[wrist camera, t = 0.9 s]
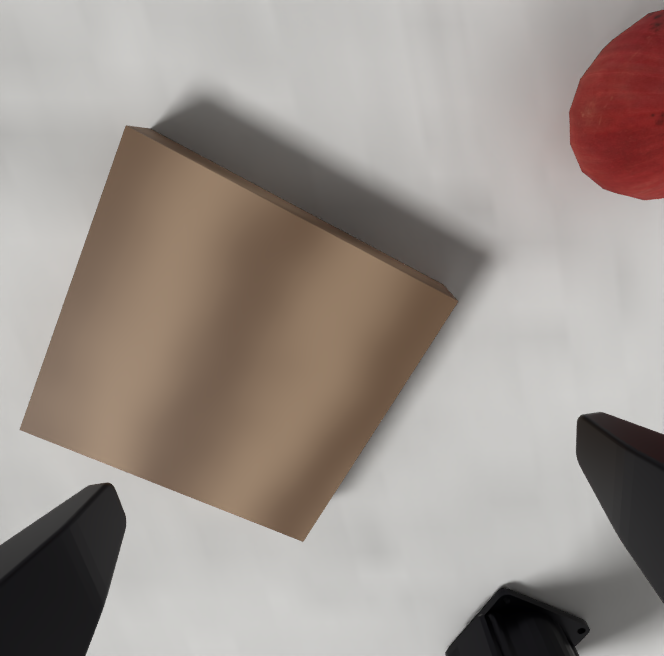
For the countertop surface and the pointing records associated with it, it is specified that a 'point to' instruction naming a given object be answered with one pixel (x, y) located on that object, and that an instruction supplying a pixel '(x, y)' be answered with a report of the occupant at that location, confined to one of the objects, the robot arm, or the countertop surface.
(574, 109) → the red round fruit
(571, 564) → the countertop surface
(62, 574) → the robot arm
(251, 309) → the walnut block
